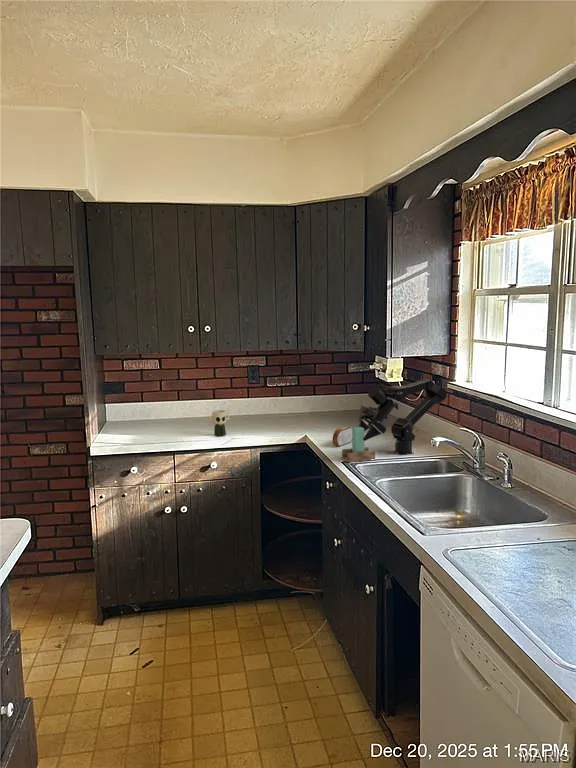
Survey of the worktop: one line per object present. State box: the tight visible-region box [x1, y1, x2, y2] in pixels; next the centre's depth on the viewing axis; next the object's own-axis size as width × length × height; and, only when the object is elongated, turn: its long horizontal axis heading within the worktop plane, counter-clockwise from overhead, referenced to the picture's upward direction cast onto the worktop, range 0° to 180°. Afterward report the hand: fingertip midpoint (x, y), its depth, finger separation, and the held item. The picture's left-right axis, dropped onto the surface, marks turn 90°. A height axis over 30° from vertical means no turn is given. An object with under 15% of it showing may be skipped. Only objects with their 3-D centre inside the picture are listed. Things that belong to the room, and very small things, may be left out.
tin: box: [332, 425, 353, 447], centre depth 275 cm, size 15×3×8 cm, turn 141°
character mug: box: [208, 409, 230, 437], centre depth 301 cm, size 11×7×13 cm, turn 112°
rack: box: [341, 446, 376, 463], centre depth 250 cm, size 12×8×4 cm
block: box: [351, 426, 365, 453], centre depth 249 cm, size 4×4×13 cm
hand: (359, 437), depth 249 cm, fingers open, 9 cm apart
